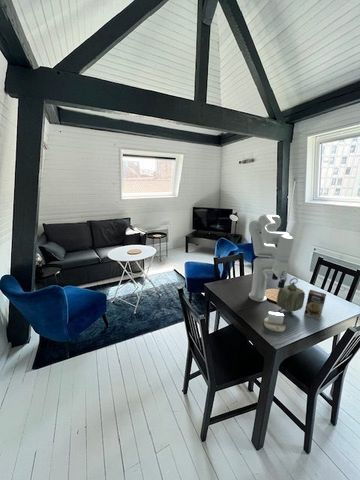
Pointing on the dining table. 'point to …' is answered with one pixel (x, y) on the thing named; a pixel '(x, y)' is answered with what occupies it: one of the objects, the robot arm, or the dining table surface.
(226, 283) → the dining table surface
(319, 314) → the coffee box
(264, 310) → the dining table surface
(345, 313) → the dining table surface
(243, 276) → the dining table surface
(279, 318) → the dial knob
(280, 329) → the dial base
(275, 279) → the robot arm
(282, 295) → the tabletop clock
